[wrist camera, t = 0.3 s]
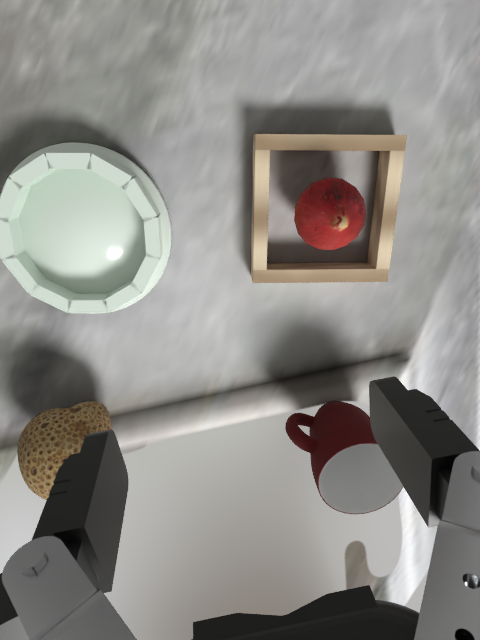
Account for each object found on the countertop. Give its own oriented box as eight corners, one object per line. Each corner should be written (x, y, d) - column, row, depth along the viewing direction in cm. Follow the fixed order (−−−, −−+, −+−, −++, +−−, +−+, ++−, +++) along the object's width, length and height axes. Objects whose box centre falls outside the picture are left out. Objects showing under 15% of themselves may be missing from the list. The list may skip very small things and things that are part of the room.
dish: (-14, 142, 36) (-33, 141, 33) (167, 143, 37) (163, 142, 34) (18, 311, 42) (4, 322, 39) (175, 309, 42) (173, 320, 40)
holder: (252, 135, 37) (255, 133, 35) (395, 136, 38) (406, 135, 35) (250, 275, 42) (253, 282, 39) (378, 274, 42) (387, 281, 40)
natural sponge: (40, 451, 48) (-2, 524, 38) (37, 380, 44) (-11, 440, 35) (124, 457, 48) (103, 529, 39) (127, 387, 45) (104, 448, 36)
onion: (291, 174, 38) (309, 179, 31) (354, 177, 39) (388, 183, 31) (285, 239, 41) (301, 259, 33) (345, 242, 41) (375, 262, 33)
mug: (267, 435, 48) (279, 502, 39) (288, 372, 46) (307, 429, 36) (354, 452, 50) (387, 520, 41) (380, 392, 47) (421, 451, 38)
